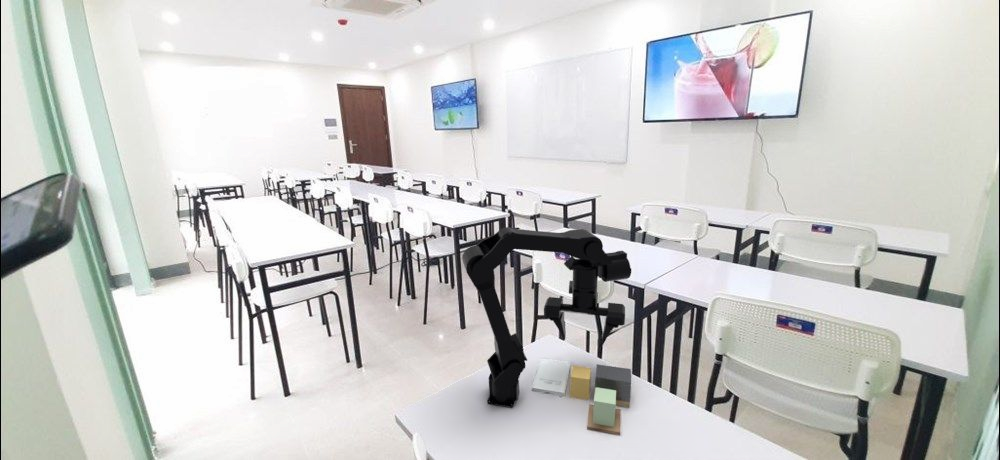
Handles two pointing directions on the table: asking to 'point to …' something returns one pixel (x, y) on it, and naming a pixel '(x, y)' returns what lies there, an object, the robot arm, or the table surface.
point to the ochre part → (580, 382)
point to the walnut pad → (604, 428)
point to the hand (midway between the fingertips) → (583, 341)
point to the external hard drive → (551, 377)
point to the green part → (604, 407)
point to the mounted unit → (615, 382)
